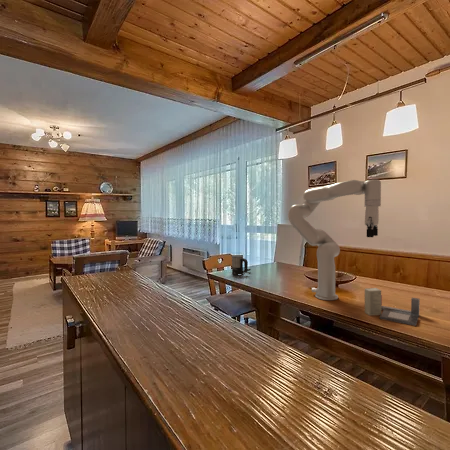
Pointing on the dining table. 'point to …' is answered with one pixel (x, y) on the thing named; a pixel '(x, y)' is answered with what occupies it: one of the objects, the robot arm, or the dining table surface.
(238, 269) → the milk frother
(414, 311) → the rail
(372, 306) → the skincare box
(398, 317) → the plate
